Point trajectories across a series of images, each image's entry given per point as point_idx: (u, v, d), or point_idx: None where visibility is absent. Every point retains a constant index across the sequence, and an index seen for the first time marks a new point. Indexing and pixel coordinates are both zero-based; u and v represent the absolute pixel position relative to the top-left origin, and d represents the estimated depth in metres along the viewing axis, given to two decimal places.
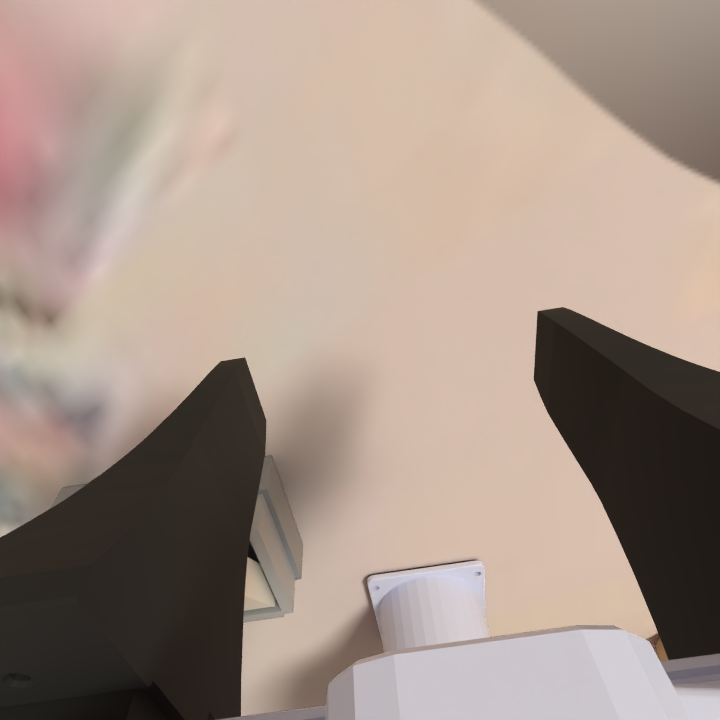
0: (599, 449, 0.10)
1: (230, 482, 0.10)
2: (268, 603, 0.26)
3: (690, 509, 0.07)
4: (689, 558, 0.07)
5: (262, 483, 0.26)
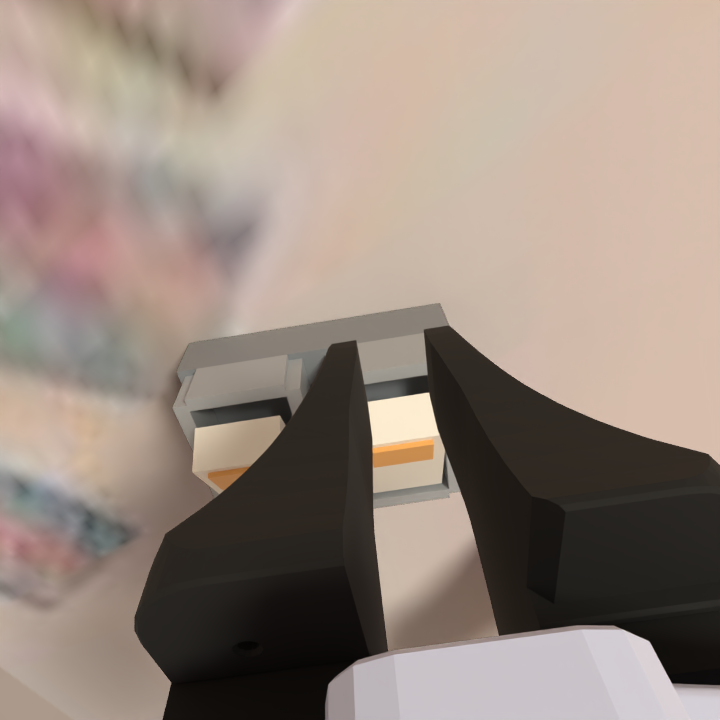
0: (464, 469, 0.10)
1: (363, 463, 0.10)
2: (442, 473, 0.22)
3: (502, 536, 0.07)
4: (506, 583, 0.07)
5: (441, 324, 0.21)
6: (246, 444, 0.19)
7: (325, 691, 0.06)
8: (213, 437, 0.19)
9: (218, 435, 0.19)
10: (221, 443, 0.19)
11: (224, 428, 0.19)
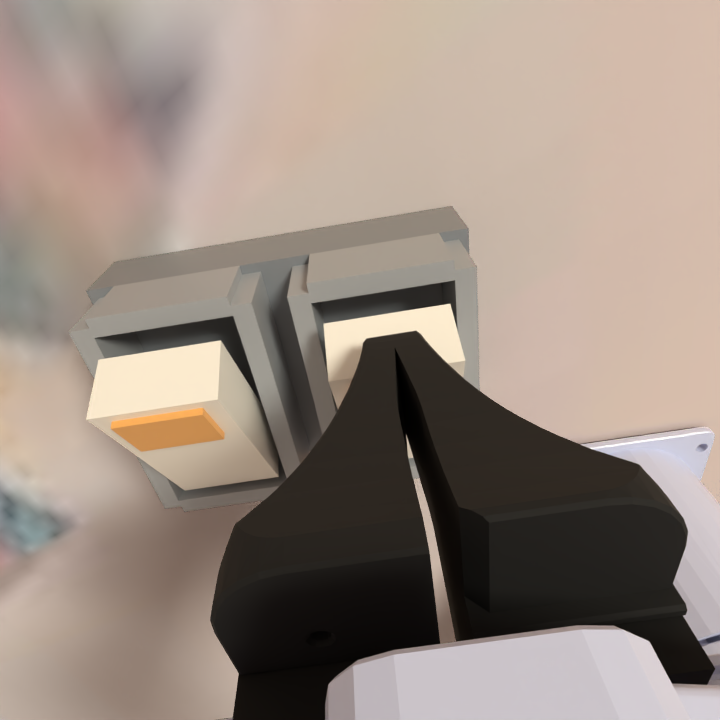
0: (425, 475, 0.10)
1: None
2: None
3: (449, 543, 0.07)
4: (455, 590, 0.07)
5: (455, 225, 0.15)
6: (169, 380, 0.13)
7: None
8: (123, 370, 0.13)
9: (130, 368, 0.13)
10: (133, 379, 0.13)
11: (140, 359, 0.13)
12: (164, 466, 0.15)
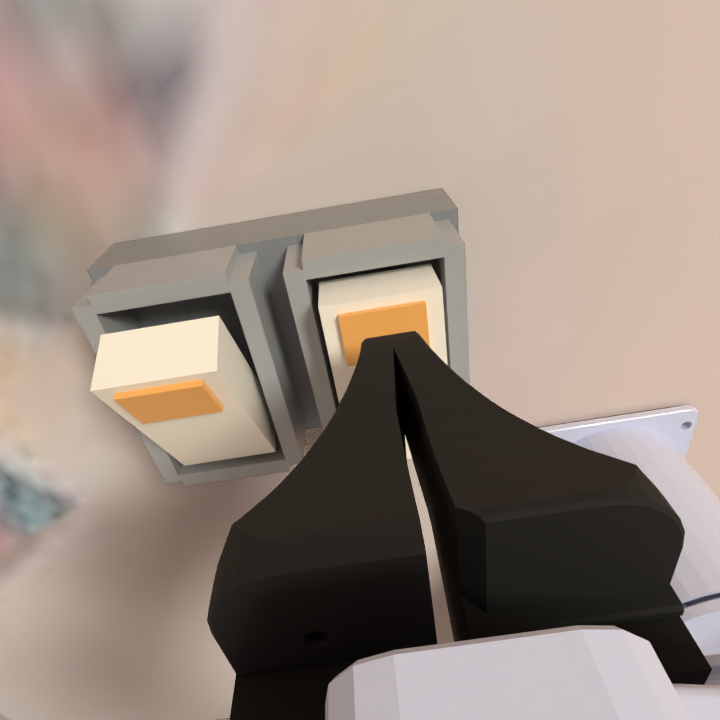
0: (423, 475, 0.10)
1: None
2: None
3: (446, 543, 0.07)
4: (452, 591, 0.07)
5: (445, 205, 0.16)
6: (169, 354, 0.13)
7: None
8: (125, 345, 0.14)
9: (132, 342, 0.14)
10: (135, 353, 0.13)
11: (141, 334, 0.14)
12: (165, 440, 0.16)
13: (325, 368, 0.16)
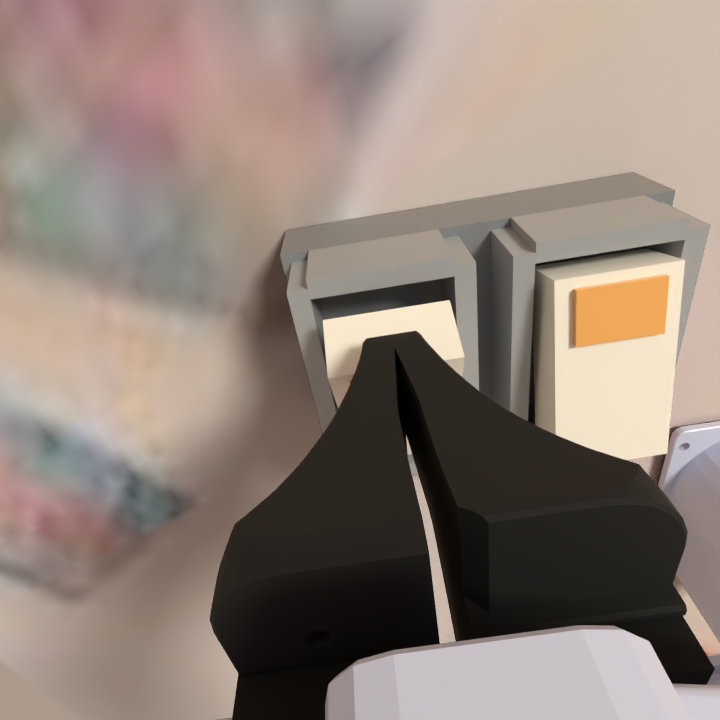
0: (425, 475, 0.10)
1: None
2: (669, 415, 0.15)
3: (448, 543, 0.07)
4: (454, 590, 0.07)
5: (656, 188, 0.15)
6: None
7: None
8: (353, 330, 0.13)
9: (360, 328, 0.13)
10: None
11: (367, 319, 0.13)
12: None
13: (529, 359, 0.15)
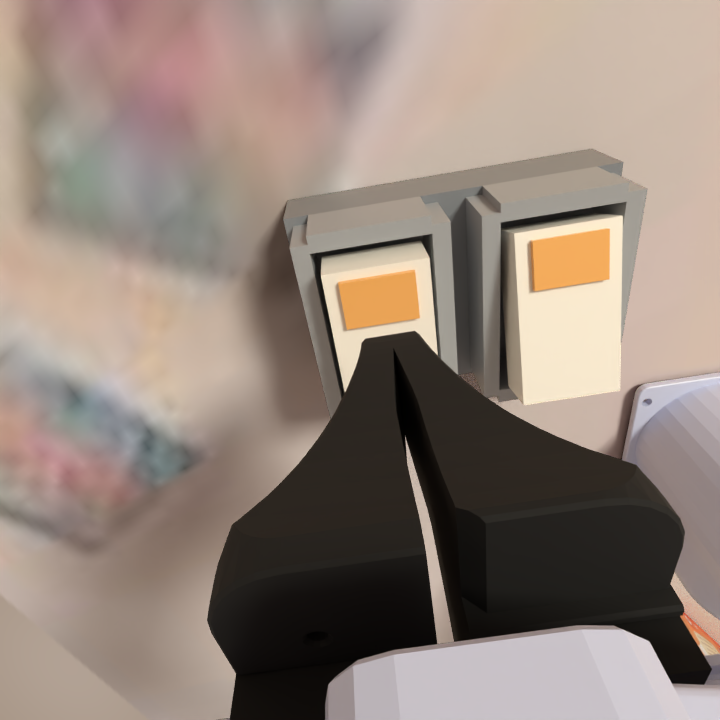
0: (424, 475, 0.10)
1: None
2: (619, 355, 0.17)
3: (446, 543, 0.07)
4: (452, 591, 0.07)
5: (608, 160, 0.17)
6: (384, 256, 0.16)
7: None
8: (344, 258, 0.16)
9: (350, 256, 0.16)
10: (354, 259, 0.16)
11: (356, 253, 0.17)
12: (350, 371, 0.17)
13: (499, 308, 0.18)
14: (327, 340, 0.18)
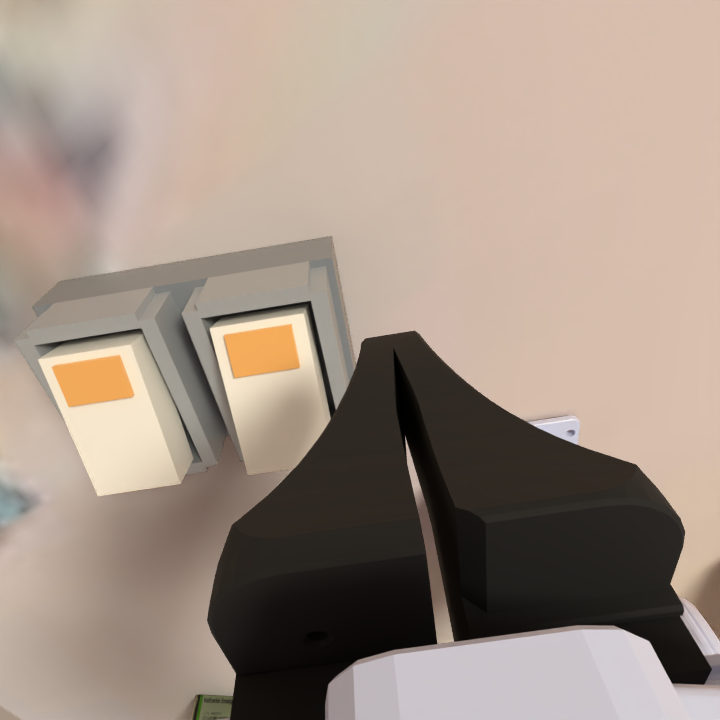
0: (424, 475, 0.10)
1: None
2: None
3: (446, 543, 0.07)
4: (452, 591, 0.07)
5: (324, 254, 0.19)
6: (104, 343, 0.18)
7: None
8: (77, 343, 0.19)
9: (82, 342, 0.19)
10: (81, 345, 0.18)
11: (91, 339, 0.19)
12: (84, 444, 0.19)
13: None
14: None
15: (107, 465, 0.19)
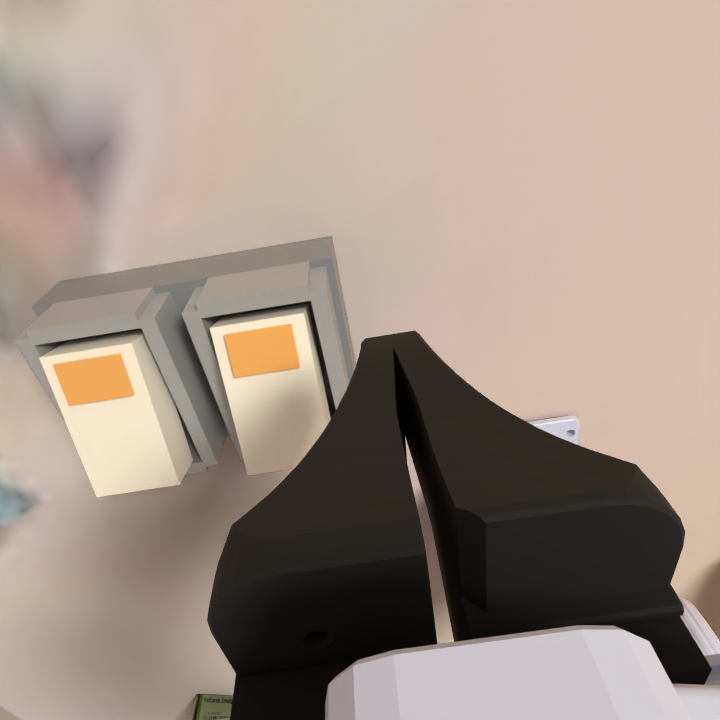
0: (424, 475, 0.10)
1: None
2: None
3: (446, 543, 0.07)
4: (452, 591, 0.07)
5: (324, 254, 0.19)
6: (105, 342, 0.18)
7: None
8: (78, 342, 0.19)
9: (84, 341, 0.19)
10: (82, 344, 0.18)
11: (93, 339, 0.19)
12: (84, 444, 0.19)
13: None
14: None
15: (106, 465, 0.19)
